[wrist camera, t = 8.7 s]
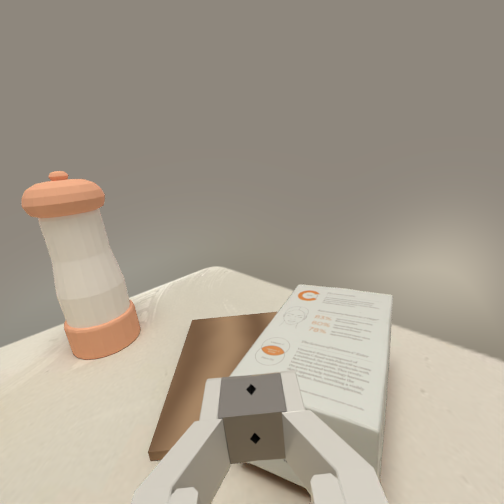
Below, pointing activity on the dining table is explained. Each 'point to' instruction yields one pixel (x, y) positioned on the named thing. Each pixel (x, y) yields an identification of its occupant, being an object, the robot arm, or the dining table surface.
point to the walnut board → (203, 371)
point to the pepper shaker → (83, 266)
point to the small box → (331, 363)
